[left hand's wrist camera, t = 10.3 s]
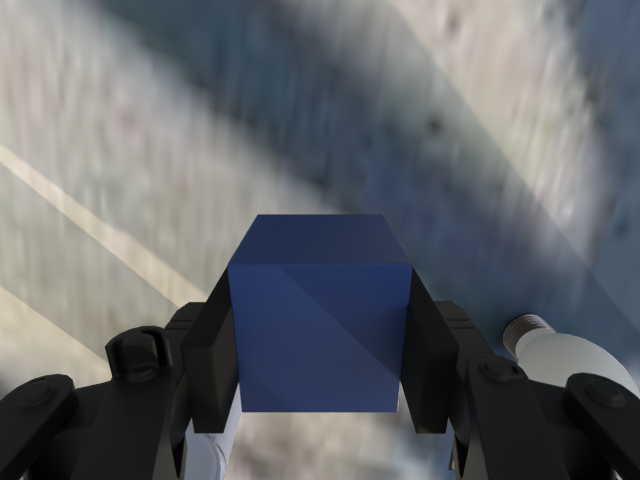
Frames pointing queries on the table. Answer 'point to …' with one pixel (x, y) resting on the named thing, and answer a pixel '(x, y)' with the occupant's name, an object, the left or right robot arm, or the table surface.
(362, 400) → the block
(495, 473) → the left robot arm
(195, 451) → the right robot arm
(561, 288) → the table surface
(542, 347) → the light bulb
